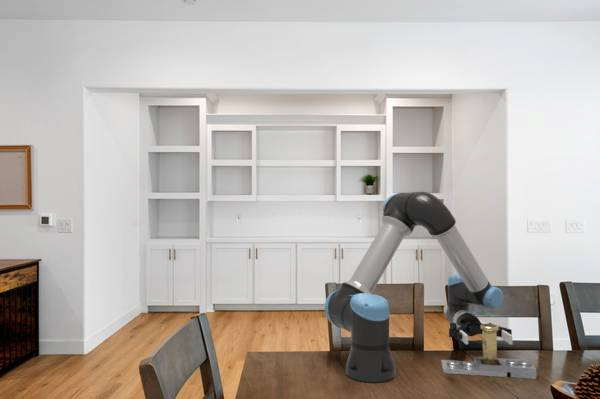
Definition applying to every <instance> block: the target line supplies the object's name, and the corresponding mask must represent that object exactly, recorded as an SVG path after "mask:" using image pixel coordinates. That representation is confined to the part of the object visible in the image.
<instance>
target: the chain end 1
mask: <svg viewBox="0 0 600 399" xmlns="http://www.w3.org/2000/svg"><path fill="white" fill-rule="evenodd" d="M440 363H441V368H442V371H443V373H444V374H450V375H451V374H452V375H453V374H454V375H470V376H485V377H486V376H487V377H499V378H500V377H501V378H508V373H507V372H499V371H482V370H478V368H477V366H476V363H475V362H474V361H473V360H454V359H441V362H440ZM482 364H483V363H482ZM497 365H498V364H497Z"/></svg>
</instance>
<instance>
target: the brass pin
mask: <svg viewBox="0 0 600 399" xmlns="http://www.w3.org/2000/svg"><path fill="white" fill-rule="evenodd" d="M498 326H499V325H497V324H494V323H492V324H488V323H482V324H481V325H480V329H482V334H481V335H482V357H483V364H488V365H497V358H498V350H497V349H498V348H497V347H498V344H497V343H498V342H497V341H498V340H497V337H498V336H497V334H496V331H498V330H499V327H498Z"/></svg>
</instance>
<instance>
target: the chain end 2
mask: <svg viewBox="0 0 600 399" xmlns="http://www.w3.org/2000/svg"><path fill="white" fill-rule="evenodd" d="M473 358H474V360H473V362H475V363H476V366H477V368H478V370H482V371H499V372H507V375H508V376H509V377H510V378H512V379H513V378H514V379H515V378H516V379H531V380H537V369H536V367H535V366H534V364H533V363H532V362H531V361H530V360H529V359H516V358H498V357H497V364H498V365H488V364H482V363H483V356H482V357H481V356H474V357H473Z"/></svg>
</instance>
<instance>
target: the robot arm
mask: <svg viewBox="0 0 600 399" xmlns="http://www.w3.org/2000/svg"><path fill="white" fill-rule="evenodd" d="M381 221H382V226H381V227H380V229H379V231H378V232H377V234H376V235H375V237H374V238H373V240H372V241H371V244H370V246H369V248H368V249H367V250H366V252H365V254H364V255H363V257H362V259H361V261H360V262H359V264H358V266H357V267H356V269H355V271H354V272H353V274H352V276H351V277H350V279H349V280H346V281H343V282H342V284H341V286H340V287H339V289H338V290H335V291H333V292H331V293H329V295H328V296H327V298H326V299H325V303H324V312H325V316H326V318H327V320H328V321H329V322H330V323H331V324H333V325H334V326H336V328H339V329H343V330H345V331H347V332H350V350H349V354H348V357H347V359H346V360H347V361H346V363H345V375H346V376H347V377H349V378H350V379H353V380H356V381H360V382H365V383H382V382H387V381H391V380H393V379H394V378H395V377H396V372H397V371H396V365H395V362H394V359H393V356H392V353H391V349H390V313H391V312H390V307H389V306H390V305H389V302H388V301H387V299H386V298H385V297H383V296H380V295H379V294H373V293H374V291H375V288H376V287H377V286H378V283H379V282H380V280H381V278H382V277H383V274H384V273H385V271H386V270H387V268H388V266H389V265H390V263H391V261H392V260H393V258H394V256H395V254H396V252H397V250H398V248H399V247H400V245H401V244H402V241H403V240H404V238H406V237H409V236H411V235H412V234H413V232H414V229H415V228H416V226H422V227H423V228H425V229H426V230H427V232H428V233H429V235H430V236H432V237H435V238H436V240H437V242H438V243H439V245H440V247H441V249H442V251H444V254H445V255H446V257H447V258H448V259H449V262H450V263H451V265H452V266H453V267H454V269H455V271H456V273H457V274H451V275H449V276H448V279H447V296H448V299H447V300H448V301H447V302H448V304H447V308H446V310H445V317H446V319H447V320H448V322H449V323H450V324H451V326H450V328H448V337H449V338H454V341H455V340H456V341H459V340H460V341H461V342H463V343H464V344H465V345H469V337H475V336H477V335H482V329H480V325H481V324H483V323H482V322H481V321H480V319H479V318H478V317H477V316H476V315H475V314H473V313H472V312H470V304H471V305H476V306H479V307H483V308H487V309H495V310H496V309H498V308H500V307H501V306H502V304H503V302H504V293H503V291H502V289H500V288H499V287H497V286H492V285H491V283H490V281H489V279H488V278H487V276H486V275H485V273H484V271H483V269H482V268H481V267H480V265H479V263H478V261H477V259H476V258H475V256H474V254H473V253H472V251H471V250H470V248H469V246H468V244H467V243H466V241H465V240H464V238H463V236H462V234H461V233H460V231H459V230H458V228H457V226H456V223H457V221H456V219H455V217H454V216H453V214H452V212H451V210H449V208H448V207H447V206H446V204H444V202H442V201H441V200H440V199H439V198H438V197H437V196H435V195H434V194H432V193H430V192H427V191H418V192H417V191H416V192H415V191H414V192H399V193H395V194H392V195H390V196H388V198H386V199H385V201H384V203H383V206H382V217H381ZM487 324H493V323H491V322H489V323H487ZM497 326H498V327H499V330H498V331H496V334H497V337H498V338H501V339H502V340H503V341H504V342H506V343H507V344H508V345H514V344H513V335H512V334H513V332H512V331H513V330H512V329H511V328H508V327H502V326H500V325H497Z"/></svg>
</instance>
